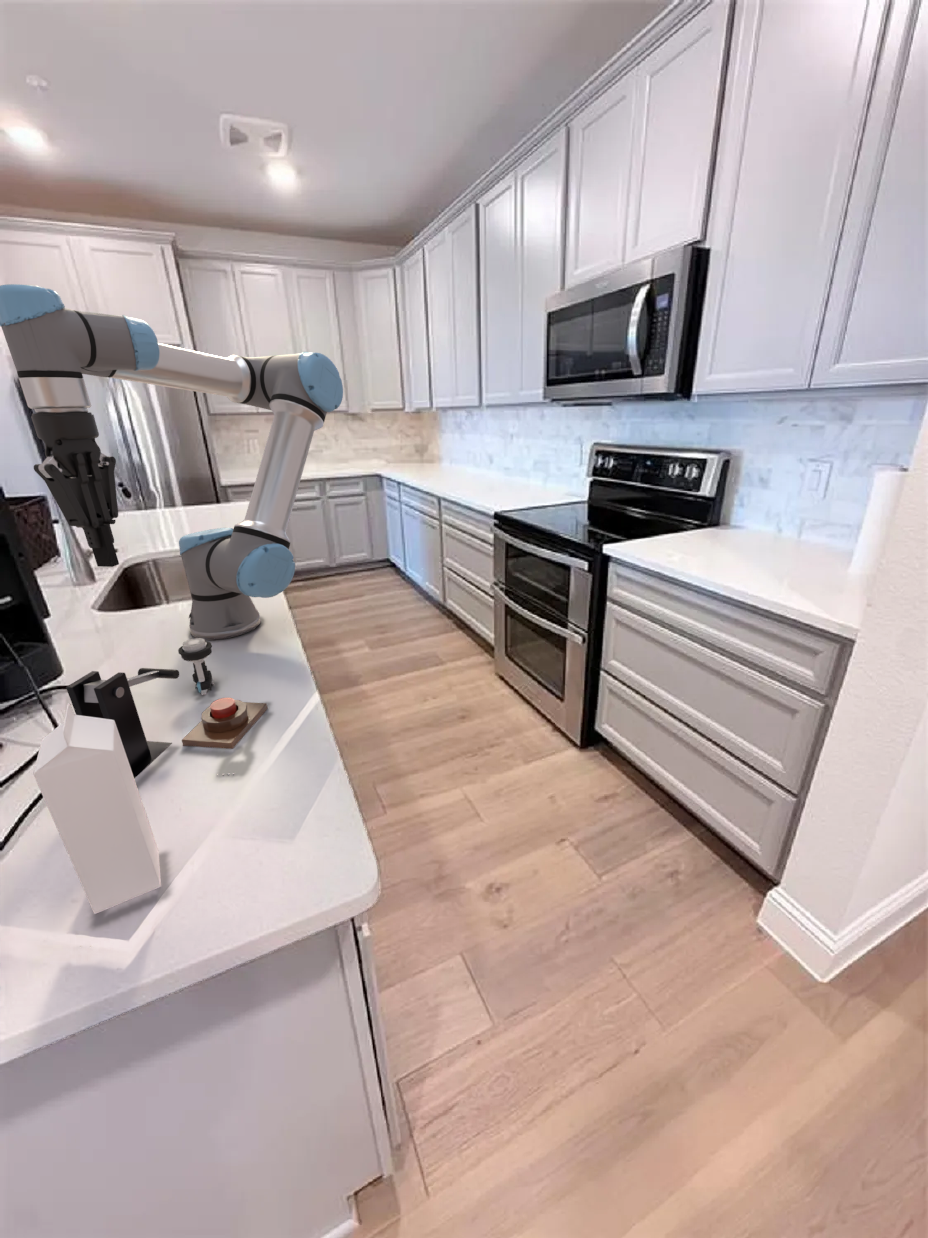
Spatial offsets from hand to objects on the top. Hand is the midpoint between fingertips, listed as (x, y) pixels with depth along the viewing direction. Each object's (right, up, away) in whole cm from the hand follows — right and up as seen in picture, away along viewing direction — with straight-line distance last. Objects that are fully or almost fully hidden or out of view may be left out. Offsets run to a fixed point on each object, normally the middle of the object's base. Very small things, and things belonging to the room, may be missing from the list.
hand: (108, 565), depth 84 cm
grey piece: (+11, -23, +9) cm, 27 cm away
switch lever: (+10, -19, -10) cm, 24 cm away
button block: (+21, -27, -2) cm, 34 cm away
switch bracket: (+10, -31, -10) cm, 34 cm away
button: (+21, -24, -4) cm, 32 cm away
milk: (+22, -38, -28) cm, 53 cm away
